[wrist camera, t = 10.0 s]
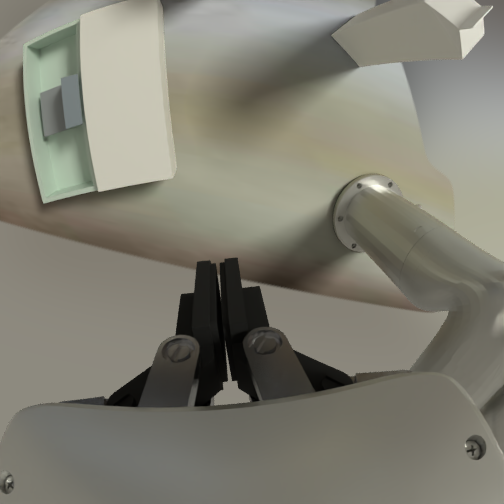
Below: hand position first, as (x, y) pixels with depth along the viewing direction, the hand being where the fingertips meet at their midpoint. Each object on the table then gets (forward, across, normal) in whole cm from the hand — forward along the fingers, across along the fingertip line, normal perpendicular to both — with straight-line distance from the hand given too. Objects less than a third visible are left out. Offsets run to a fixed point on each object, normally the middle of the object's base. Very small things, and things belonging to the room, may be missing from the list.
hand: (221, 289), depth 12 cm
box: (+25, +19, -11) cm, 33 cm away
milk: (+27, -20, -18) cm, 38 cm away
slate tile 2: (+23, +20, -12) cm, 32 cm away
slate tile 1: (+22, +15, -12) cm, 29 cm away
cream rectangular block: (+26, +10, -11) cm, 30 cm away
